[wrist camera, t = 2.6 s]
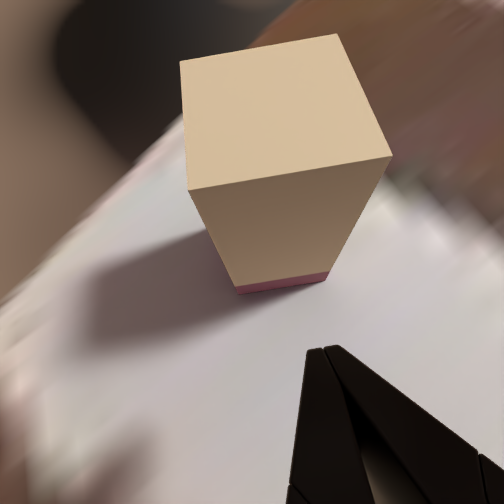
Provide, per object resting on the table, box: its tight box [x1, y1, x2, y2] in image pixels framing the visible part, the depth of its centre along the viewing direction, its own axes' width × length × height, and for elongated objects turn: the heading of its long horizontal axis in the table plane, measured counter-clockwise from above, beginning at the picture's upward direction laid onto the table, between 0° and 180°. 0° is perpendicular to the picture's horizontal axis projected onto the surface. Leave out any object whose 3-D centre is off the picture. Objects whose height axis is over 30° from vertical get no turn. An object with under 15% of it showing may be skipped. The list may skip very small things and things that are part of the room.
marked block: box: [180, 34, 393, 295], centre depth 15 cm, size 6×6×12 cm
